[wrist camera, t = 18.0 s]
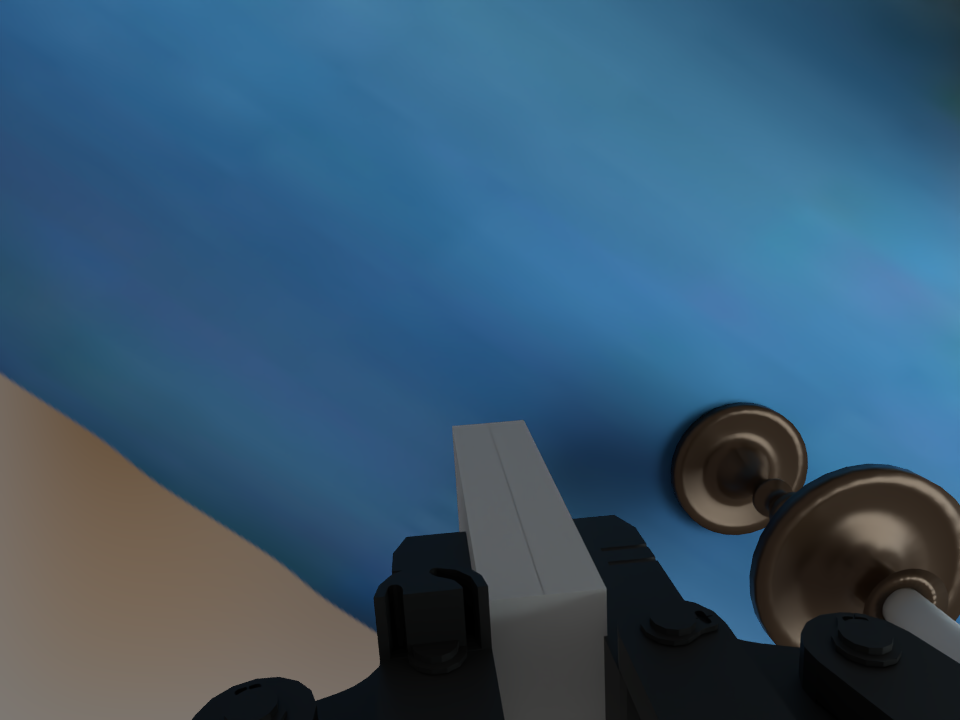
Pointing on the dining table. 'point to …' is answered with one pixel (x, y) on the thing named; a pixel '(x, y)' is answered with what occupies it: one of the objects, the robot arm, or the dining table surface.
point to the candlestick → (823, 528)
